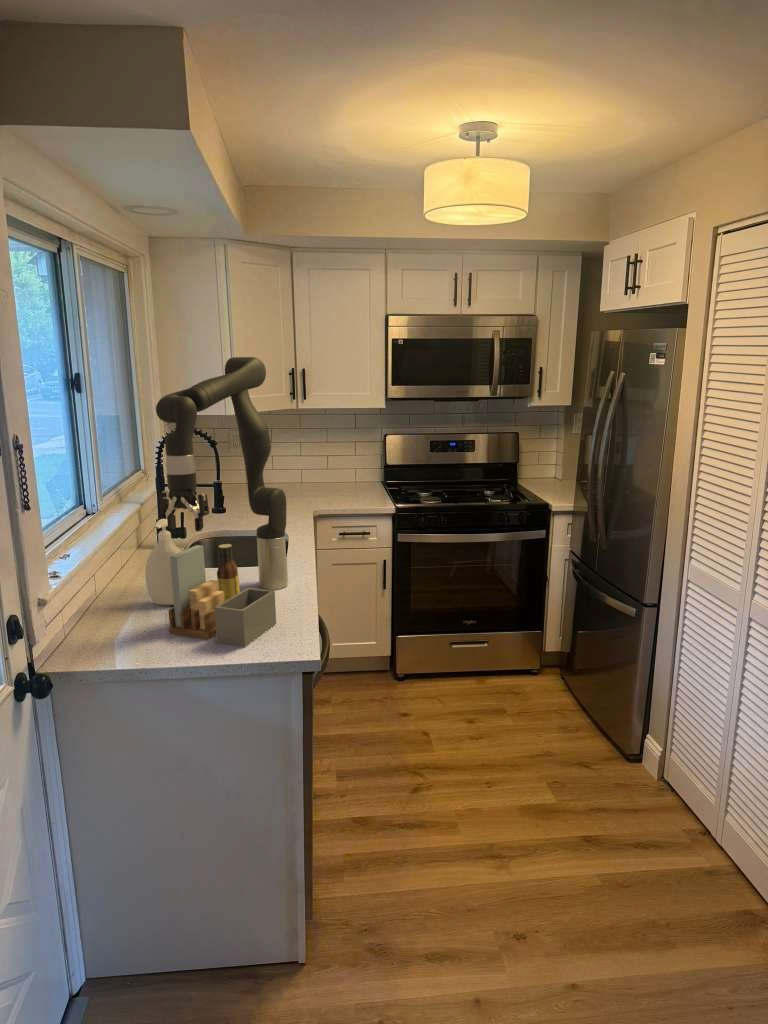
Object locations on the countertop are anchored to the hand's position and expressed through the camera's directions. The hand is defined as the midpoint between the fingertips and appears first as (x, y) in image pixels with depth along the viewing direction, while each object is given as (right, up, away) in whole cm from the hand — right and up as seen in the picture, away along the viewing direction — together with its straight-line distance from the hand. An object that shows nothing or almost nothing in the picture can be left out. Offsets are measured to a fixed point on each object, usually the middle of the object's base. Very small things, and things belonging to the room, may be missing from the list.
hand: (185, 529), depth 182 cm
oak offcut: (+4, -25, +5) cm, 26 cm away
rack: (+4, -28, +5) cm, 28 cm away
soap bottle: (-12, -24, +23) cm, 36 cm away
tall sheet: (0, -25, +5) cm, 26 cm away
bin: (+17, -28, 0) cm, 33 cm away
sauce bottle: (+8, -25, +19) cm, 32 cm away
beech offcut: (+7, -26, +2) cm, 27 cm away
